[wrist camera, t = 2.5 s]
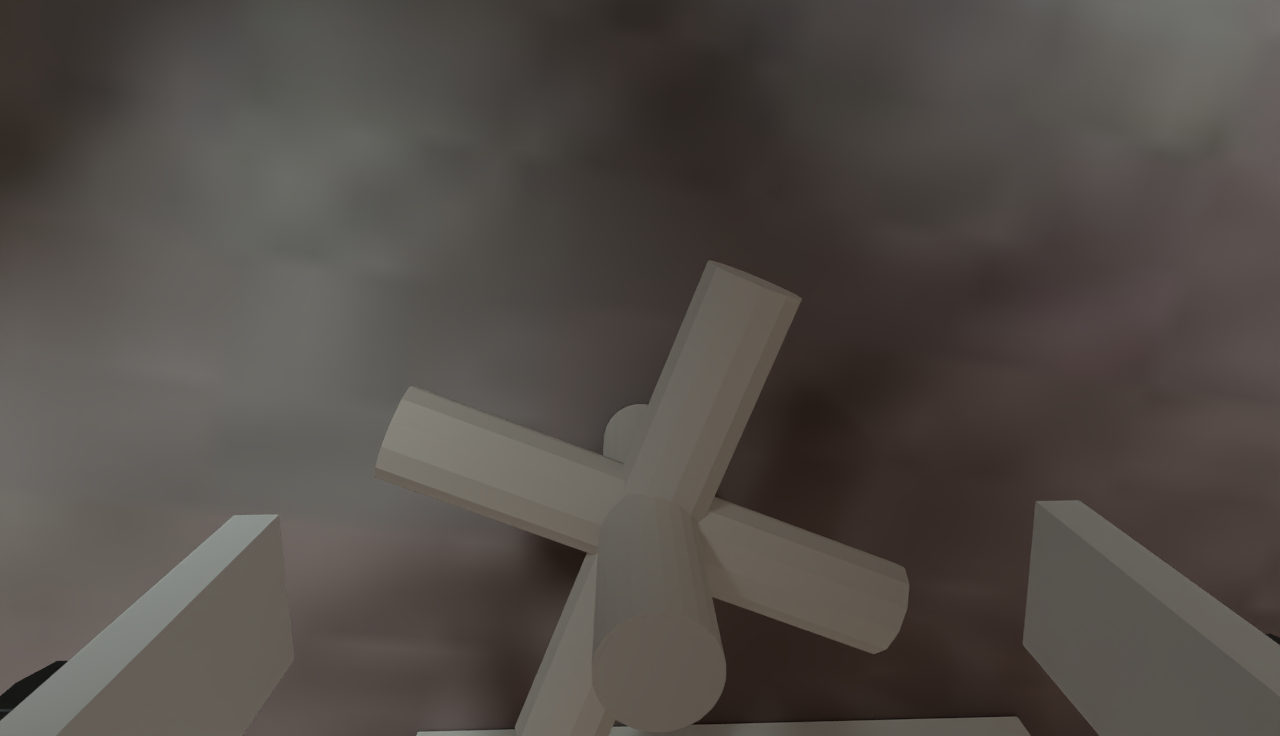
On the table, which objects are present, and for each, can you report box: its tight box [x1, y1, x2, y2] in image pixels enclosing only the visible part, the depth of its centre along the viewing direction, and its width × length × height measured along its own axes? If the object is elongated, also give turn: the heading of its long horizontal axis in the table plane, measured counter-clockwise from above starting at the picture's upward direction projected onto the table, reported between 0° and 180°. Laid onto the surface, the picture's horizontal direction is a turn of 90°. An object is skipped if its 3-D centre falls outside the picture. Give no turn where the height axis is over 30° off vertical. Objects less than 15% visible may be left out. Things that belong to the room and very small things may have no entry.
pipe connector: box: [374, 260, 909, 736], centre depth 17 cm, size 10×10×10 cm
